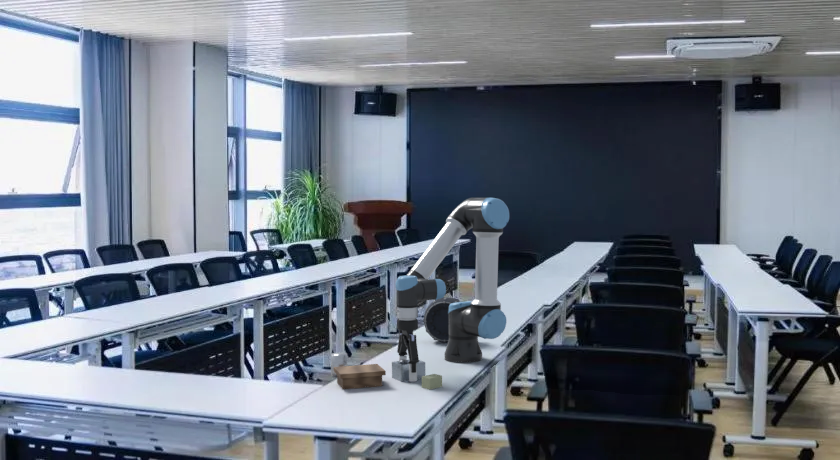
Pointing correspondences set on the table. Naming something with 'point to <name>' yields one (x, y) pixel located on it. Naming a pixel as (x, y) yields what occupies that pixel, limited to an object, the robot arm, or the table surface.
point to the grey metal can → (338, 361)
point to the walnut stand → (359, 376)
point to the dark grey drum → (438, 319)
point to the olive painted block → (431, 381)
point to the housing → (406, 370)
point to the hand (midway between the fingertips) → (407, 377)
